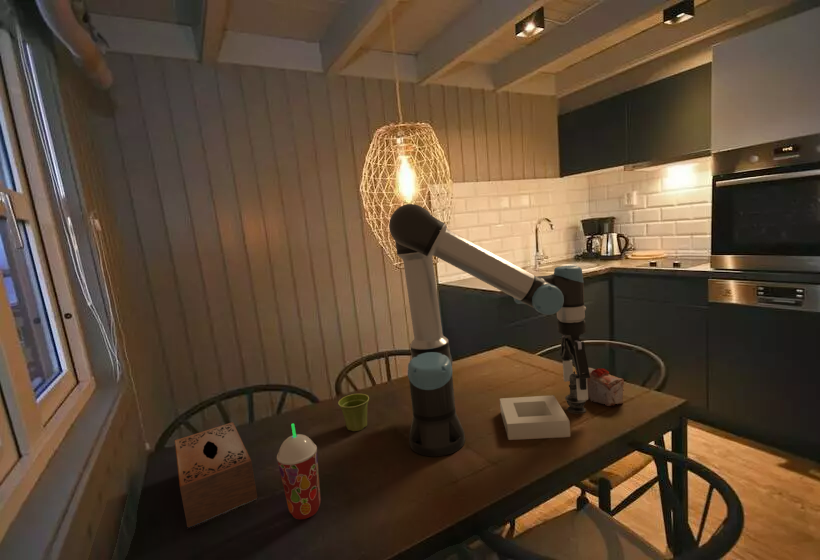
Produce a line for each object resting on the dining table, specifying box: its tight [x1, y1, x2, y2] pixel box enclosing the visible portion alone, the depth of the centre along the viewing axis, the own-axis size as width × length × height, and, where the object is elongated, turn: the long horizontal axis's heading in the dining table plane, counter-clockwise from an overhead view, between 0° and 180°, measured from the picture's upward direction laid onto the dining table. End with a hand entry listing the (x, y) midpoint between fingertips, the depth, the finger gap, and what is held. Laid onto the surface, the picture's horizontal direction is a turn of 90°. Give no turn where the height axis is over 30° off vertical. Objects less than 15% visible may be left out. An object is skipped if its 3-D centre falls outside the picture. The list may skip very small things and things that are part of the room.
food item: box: [582, 367, 625, 407], centre depth 125 cm, size 14×8×10 cm, turn 23°
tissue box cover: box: [174, 421, 258, 527], centre depth 101 cm, size 26×14×10 cm, turn 32°
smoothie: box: [276, 423, 322, 520], centre depth 87 cm, size 8×8×20 cm
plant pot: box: [337, 393, 370, 432], centre depth 124 cm, size 9×9×9 cm
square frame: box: [499, 395, 571, 441], centre depth 115 cm, size 16×16×4 cm
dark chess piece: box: [564, 370, 587, 415], centre depth 120 cm, size 6×6×12 cm
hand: (575, 389), depth 120 cm, fingers open, 13 cm apart
